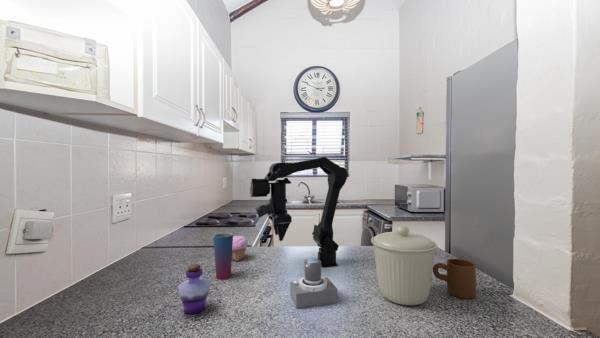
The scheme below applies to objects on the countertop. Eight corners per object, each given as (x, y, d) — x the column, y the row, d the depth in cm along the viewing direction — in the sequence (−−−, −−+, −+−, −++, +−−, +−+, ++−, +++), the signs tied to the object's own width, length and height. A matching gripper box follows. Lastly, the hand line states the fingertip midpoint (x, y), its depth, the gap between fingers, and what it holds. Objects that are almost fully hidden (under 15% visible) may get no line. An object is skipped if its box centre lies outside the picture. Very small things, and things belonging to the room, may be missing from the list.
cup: (236, 273, 98) (235, 232, 98) (229, 281, 91) (229, 237, 91) (218, 272, 99) (217, 232, 99) (210, 280, 92) (209, 237, 92)
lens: (312, 280, 81) (312, 256, 81) (325, 285, 78) (324, 260, 78) (300, 285, 78) (300, 260, 78) (313, 290, 74) (312, 265, 74)
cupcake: (222, 260, 112) (221, 236, 112) (237, 254, 120) (237, 232, 120) (236, 264, 107) (236, 239, 107) (251, 258, 115) (251, 235, 115)
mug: (438, 299, 77) (438, 266, 77) (428, 287, 85) (427, 257, 85) (481, 300, 76) (481, 267, 76) (467, 288, 84) (467, 258, 84)
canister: (368, 306, 73) (367, 230, 73) (374, 280, 90) (373, 218, 90) (442, 319, 67) (441, 235, 67) (433, 288, 84) (432, 221, 84)
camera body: (327, 290, 83) (327, 273, 83) (337, 302, 75) (337, 284, 75) (290, 295, 80) (290, 277, 80) (296, 308, 72) (296, 289, 73)
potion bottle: (200, 298, 79) (200, 258, 79) (217, 308, 73) (216, 264, 73) (171, 310, 72) (170, 266, 72) (187, 322, 67) (186, 274, 67)
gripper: (254, 194, 107) (255, 233, 107) (259, 199, 89) (259, 246, 89) (282, 193, 110) (282, 231, 110) (291, 198, 92) (292, 243, 91)
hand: (278, 237), depth 100 cm, fingers open, 9 cm apart
